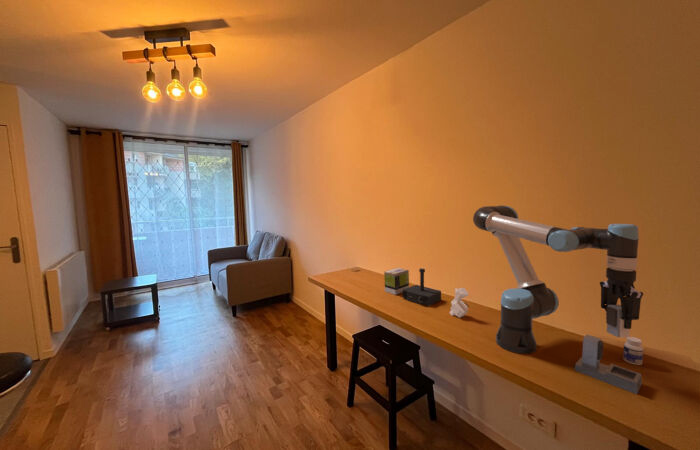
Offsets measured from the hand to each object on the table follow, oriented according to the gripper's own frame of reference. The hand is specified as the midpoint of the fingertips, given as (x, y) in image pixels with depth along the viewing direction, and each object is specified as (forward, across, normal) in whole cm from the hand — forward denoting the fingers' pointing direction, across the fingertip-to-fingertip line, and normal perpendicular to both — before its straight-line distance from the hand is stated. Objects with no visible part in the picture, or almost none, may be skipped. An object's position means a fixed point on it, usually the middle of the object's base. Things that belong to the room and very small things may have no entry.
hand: (617, 333), depth 99 cm
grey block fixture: (+15, +2, -5) cm, 16 cm away
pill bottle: (+15, -7, +13) cm, 21 cm away
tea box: (+14, -95, -62) cm, 115 cm away
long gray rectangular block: (0, 0, 0) cm, 0 cm away
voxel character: (+15, -51, -36) cm, 64 cm away
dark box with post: (+15, -77, -50) cm, 93 cm away
